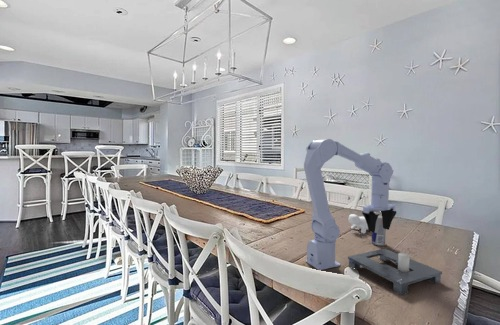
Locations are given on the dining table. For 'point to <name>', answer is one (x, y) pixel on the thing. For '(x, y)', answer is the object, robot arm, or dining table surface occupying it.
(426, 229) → the dining table surface
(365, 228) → the white animal figurine
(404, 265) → the keyhole peg
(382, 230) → the energy drink
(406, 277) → the keyhole plate
